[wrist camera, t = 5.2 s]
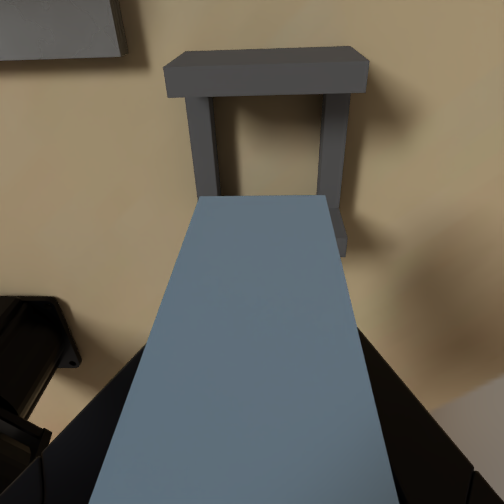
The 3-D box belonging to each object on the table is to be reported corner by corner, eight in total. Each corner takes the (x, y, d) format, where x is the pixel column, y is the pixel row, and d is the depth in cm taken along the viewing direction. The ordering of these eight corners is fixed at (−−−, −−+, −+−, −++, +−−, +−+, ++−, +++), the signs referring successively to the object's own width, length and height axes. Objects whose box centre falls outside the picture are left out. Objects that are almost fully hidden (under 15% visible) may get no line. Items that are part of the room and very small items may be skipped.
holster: (334, 214, 21) (345, 257, 17) (204, 215, 21) (191, 257, 18) (350, 46, 16) (369, 61, 13) (185, 51, 17) (163, 67, 13)
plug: (315, 318, 11) (370, 772, 5) (214, 317, 12) (134, 753, 5) (325, 194, 9) (453, 732, 3) (199, 196, 9) (16, 702, 3)
